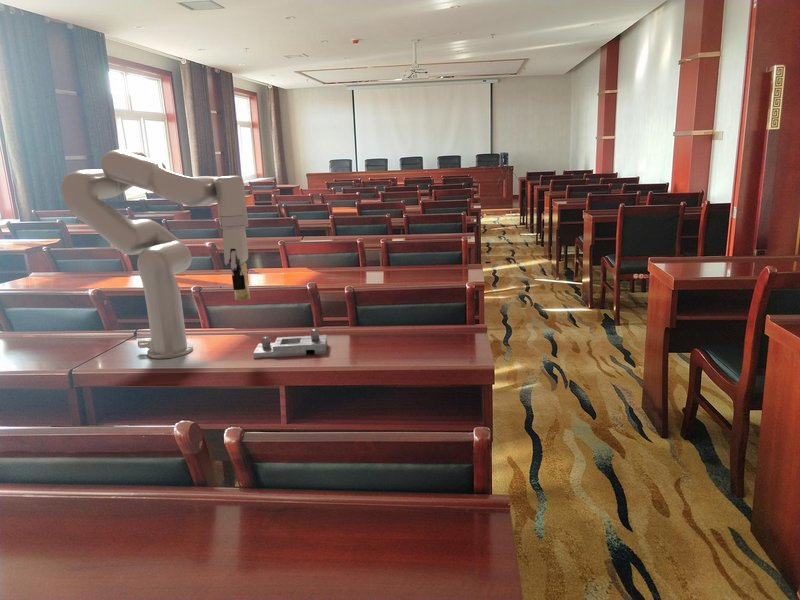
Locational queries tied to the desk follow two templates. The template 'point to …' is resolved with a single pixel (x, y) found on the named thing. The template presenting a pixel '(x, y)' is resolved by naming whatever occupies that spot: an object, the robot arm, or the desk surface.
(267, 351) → the slotted link plate
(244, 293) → the brass pin
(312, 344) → the upper chain link
